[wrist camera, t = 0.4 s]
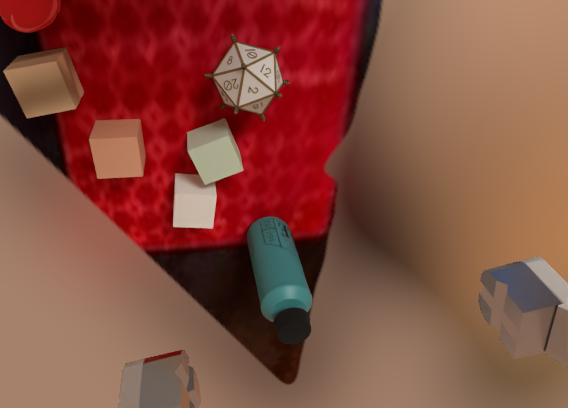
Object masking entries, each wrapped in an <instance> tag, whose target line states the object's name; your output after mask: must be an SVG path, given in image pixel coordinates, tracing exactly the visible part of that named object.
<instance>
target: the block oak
mask: <svg viewBox="0 0 568 408" xmlns="http://www.w3.org/2000/svg"><path fill="white" fill-rule="evenodd" d="M3 72H4V74H5V76H6V78H7V80H8V82H9V84H10V86H11V88H12V90H13V92H14V94H15V96H16V98H17V100H18V102H19V104H20V106H21V108H22V110H23V112H24V114H25V116H26V118H32V117H37V116H42V115H47V114H52V113H58V112H63V111H68V110H73V109H76V108H77V106H78V104H79V102H80V100H81V97H82V95H83V93H84V90H83V88H82V85H81V83H80V80H79V78H78V75H77V73H76V70H75V68H74V66H73V63H72V61H71V58H70V56H69V53H68V51H67V48H66V47H64V48H59V49H53V50H48V51H43V52H37V53H32V54H26V55H21V56H18V57H17V58H16V59H15V60H14V61H13V62H12V63H11V64H10V65H9V66H8V67H7V68H6V69H5V70H4V71H3Z"/></svg>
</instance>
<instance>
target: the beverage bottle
mask: <svg viewBox="0 0 568 408" xmlns="http://www.w3.org/2000/svg"><path fill="white" fill-rule="evenodd" d="M289 228H290V227H289ZM289 228H288V226H287V223H285V222H284V221H283V220H281V219H279V218H276V217H264V218H261V219H259V220H257V221H255V222H254V223H253V224H252V225H251V226H250V228H249V230H248V232H247V238H246V239H247V242H248V243H247V244H248V246H247V247H249V248H248V249H249V250H248V251H249V256H250V257H251V258H250V261H251V262H252V267H253V271H254V276H253V277H255V280H256V285H257V289H258V294H259V299H260V304H261V311H262V314H263V315H264V316H265V317H266V318H267V319H268V320H270V321H272V322H273V324H274V328H275V330H276V333H277V336H278V338H279V340H280V341H281V342H283V343H285V344H297V343H300V342H302V341H304V340H305V339H306V338H307V337H308V336H309V335H310V333H311V325H310V318H309V315H308V313H307V312H308V311H309V309H310V307H311V305H312V296H311V293H310V291H309V288H308V285H307V282H306V279H305V276H304V273H303V272H304V271H303V269H302V266H301V263H300V260H299V257H300V256H299V257H298V254H297V253H298V252H297V251H298V250H297V249H296V248H295V247H296V245H294V243H295V242H293V240H294V239H292V237H293V236H291V234H292V233H290V229H289Z"/></svg>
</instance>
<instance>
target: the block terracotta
mask: <svg viewBox="0 0 568 408" xmlns="http://www.w3.org/2000/svg"><path fill="white" fill-rule="evenodd" d="M89 142H90V147H91V151H92V156H93V160H94V165H95V170H96V174H97V179H105V178H122V177H140V176H143V172H144V165H145V157H146V155H145V148H144V142H143V135H142V128H141V121H140V119H121V120H96V121H95V124H94V127H93V129H92V132H91V135H90V137H89Z"/></svg>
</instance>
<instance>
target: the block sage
mask: <svg viewBox="0 0 568 408" xmlns="http://www.w3.org/2000/svg"><path fill="white" fill-rule="evenodd" d="M187 151H188V153H189V155H190V157H191V159H192V161H193V163H194V165H195V167H196V169H197V171H198V173H199V175H200V177H201V179H202V180H203V182H204V184H205V185H206V184H209V183H212V182H214V181H217V180H220V179H223V178H225V177H228V176H231V175H233V174H236V173H239V172H241V171H244V170H243V165H242V161H241V156H240V151H239V149H238V147H237V145H236V142H235V140H234V138H233V135H232V133H231V131H230V128H229V126H228V124H227V121H226V119H225V118H224V119H221V120H219V121H216V122H213V123H211V124H208V125H205V126H203V127H200V128H197V129H195V130H192V131H189V132H187Z"/></svg>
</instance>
